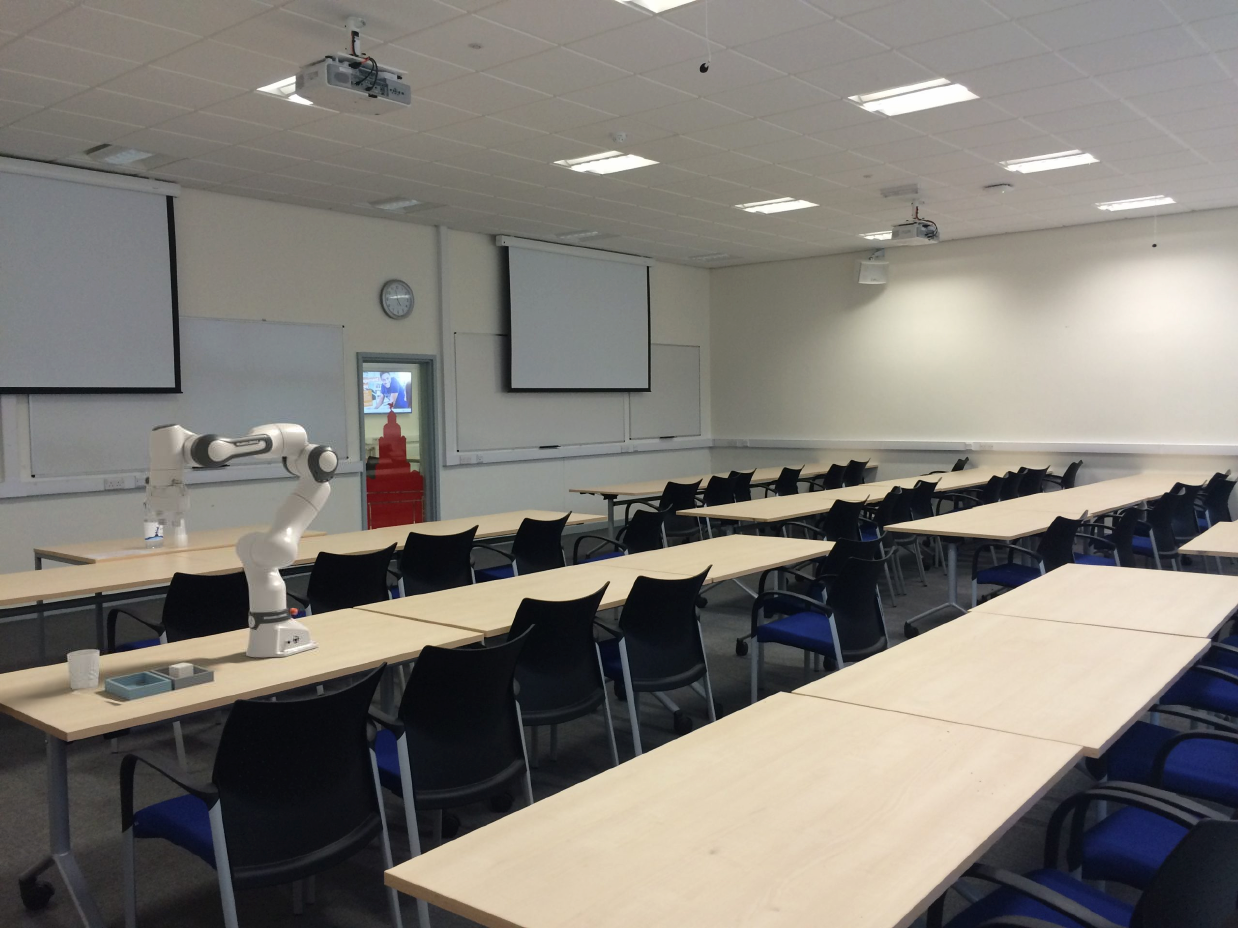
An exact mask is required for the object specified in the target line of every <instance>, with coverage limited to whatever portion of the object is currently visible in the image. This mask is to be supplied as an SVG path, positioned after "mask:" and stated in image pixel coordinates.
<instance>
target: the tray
mask: <svg viewBox="0 0 1238 928" xmlns="http://www.w3.org/2000/svg"><path fill="white" fill-rule="evenodd" d="M186 663H189V664H193V675H190V676H186V677H181V678H177V679H176V678H173V677H171V676H169V666H170V665H168V666H163V667H160V668H154V669H150V670H149V669H148V672H149V673H152V674H155V675H157V676H160V677H163V678H166V679H168V680H171V689H172V690H174V691H177V690H182V689H187V688H191V687H196V686H199V685H204V684H208V683H213V682H214V681H215V676H214V675H215V673H214V670H212V669H209V668H205V667H202V666H199V665H197V664H194V663H190V662H186Z"/></svg>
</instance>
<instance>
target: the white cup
mask: <svg viewBox="0 0 1238 928" xmlns="http://www.w3.org/2000/svg"><path fill="white" fill-rule="evenodd" d="M66 658H67V667H68V668H67V669H68V676H69V681H70V689H71V688H72V689H73V690H81V689H88V688H93V687H96V686H98V685H99V677H100V649H93V648H91V649H82V650H81V649H80V650H75V651H72V652H69V653H67V654H66Z"/></svg>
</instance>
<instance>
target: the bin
mask: <svg viewBox="0 0 1238 928" xmlns="http://www.w3.org/2000/svg"><path fill="white" fill-rule="evenodd" d="M172 690H173V689H171V680H168V679H166V678H163V677H160V676H157V675H155V674H152V673H149V671H146V670H145V671H141V672H136V673H131V674H126V675H122V676H116V677H112V678H108V679H107V678H106V679H104V691H106V692H108V693H110V694H113V695H115V696H117V697H120V698H123V699H125V700H126V701H127V700H128V701H129V702H131V701H134V700H139V699H143V698H147V697H153V696H155V695H157V696H158V695H161V694H165V693H169V692H172Z"/></svg>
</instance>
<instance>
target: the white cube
mask: <svg viewBox="0 0 1238 928" xmlns="http://www.w3.org/2000/svg"><path fill="white" fill-rule="evenodd" d="M189 663H190V662H188V663H187V662H179V663H176V664H172V665H168V666H169V676H171V677H173V678H176V679H177V678H181V677H186V676H190V675H193V664H194V663H191V664H189Z"/></svg>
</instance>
